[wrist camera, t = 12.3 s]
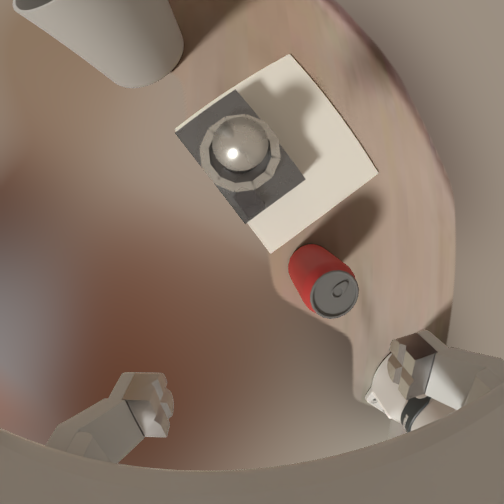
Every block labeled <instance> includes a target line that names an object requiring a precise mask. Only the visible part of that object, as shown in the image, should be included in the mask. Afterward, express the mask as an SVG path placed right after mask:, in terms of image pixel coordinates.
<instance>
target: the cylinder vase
mask: <svg viewBox="0 0 504 504" xmlns="http://www.w3.org/2000/svg"><path fill="white" fill-rule="evenodd" d="M13 8H14V10H15V11H16V12H17V13H19V14H21V15H22V16H23V17H25V18H26V19H28V20H29V21H31V22H32V23H34V24H35V25H37V26H38V27H40V28H41V29H43V30H44V31H46V32H47V33H48V34H50V35H51V36H53V37H54V38H55V39H57V40H58V41H60V42H61V43H63V44H64V45H65V46H67V47H68V48H69V49H71V50H72V51H74V52H75V53H76V54H78V55H79V56H80V57H82V58H83V59H84V60H86V61H87V62H89V63H90V64H91V65H92V66H94V67H95V68H96V69H98V70H99V71H101V72H102V73H103V74H104V75H106V76H107V77H108V78H110V79H111V80H112V81H113V82H115V83H116V84H118V85H120V86H123V87H127V88H138V87H144V86H148V85H151V84H153V83H155V82H157V81H159V80H160V79H162V78H163V77H165V76H166V75H167V74H169V73H170V72H171V71H172V70H173V68H174V67H175V66H176V65H177V63H178V62H179V60H180V58H181V55H182V52H183V48H184V41H183V37H182V34H181V32H180V29H179V27H178V24H177V22H176V19H175V16H174V14H173V11H172V9H171V6H170V4H169V1H168V0H13Z"/></svg>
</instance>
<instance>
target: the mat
mask: <svg viewBox="0 0 504 504" xmlns="http://www.w3.org/2000/svg"><path fill="white" fill-rule="evenodd" d="M235 89H236V90H237V92H238V93H239V94H240V95H241V96H242V97H243V99H244V100H245V101H246V102H247V103H248V105H249V106H250V107H251V108H252V109H253V111H254V112H255V113H256V114H257V116H258V117H259V118H260V119H261V120H262V121H265V122H264V123H267V124H268V126H269V127H270V128H271V129H272V131H273V132H274V133H275V134H276V136H277V137H278V138H277V139H278V140H279V144H280V145H281V146H282V147H283V149H284V150H285V151H286V153H287V154H288V155H289V157H290V158H291V160H292V161H293V162H294V164H295V165H296V166H297V168H298V169H299V170H300V172H301V173H302V175H303V176H304V177H305V179H306V180H305V181H303V182H302V183H300V184H299V185H298V186H296V187H295V188H293V189H292V190H291V191H289V192H288V193H287V194H285V195H284V196H282V197H281V198H280V199H278V200H277V201H276V202H274V203H273V204H272V205H270V206H269V207H268V208H266V209H265V210H263V211H262V212H261V213H259V214H258V215H257V216H255V217H254V218H253V219H251V220H250V221H249V222H247V223H248V224H249V226H250V227H251V228H252V230H253V231H254V232H255V234H256V235H257V236H258V238H259V239H260V240H261V241H262V243H263V244H264V246H265V247H266V248H267V250H268V251H269V252H270V254H271V253H272V252H274V251H275V250H276V249H278V248H279V247H281V246H282V245H283V244H285V243H286V242H287V241H289V240H290V239H291V238H293V237H294V236H295V235H297V234H298V233H299V232H301V231H302V230H304V229H305V228H306V227H308V226H309V225H310V224H312V223H313V222H314V221H316V220H317V219H318V218H320V217H321V216H322V215H324V214H325V213H326V212H328V211H329V210H330V209H332V208H333V207H334V206H336V205H337V204H338V203H340V202H341V201H342V200H344V199H345V198H346V197H348V196H349V195H350V194H352V193H353V192H354V191H356V190H357V189H358V188H360V187H361V186H362V185H364V184H365V183H366V182H368V181H369V180H370V179H372V178H373V177H374V176H376V175H377V174H378V172H377V170H376V168H375V167H374V165H373V164H372V162H371V160H370V159H369V157H368V156H367V154H366V153H365V151H364V149H363V148H362V146H361V145H360V143H359V142H358V140H357V139H356V137H355V136H354V134H353V133H352V132H351V130H350V129H349V127H348V126H347V124H346V123H345V122H344V120H343V119H342V117H341V116H340V115H339V113H338V112H337V111H336V109H335V108H334V107H333V105H332V104H331V103H330V101H329V100H328V99H327V98H326V96H325V95H324V94H323V92H322V91H321V90H320V89H319V88H318V86H317V85H316V84H315V83H314V81H313V80H312V79H311V78H310V77H309V75H308V74H307V73H306V72H305V71H304V70H303V68H302V67H301V66H300V65H299V64H298V63H297V62H296V61H295V59H294V58H293V57H292V56H291V55H290V54H289V55H287V56H285V57H283V58H281V59H279V60H277V61H276V62H274V63H272V64H270V65H269V66H267V67H265V68H263V69H262V70H260V71H258V72H257V73H255V74H253V75H252V76H250V77H248V78H247V79H245V80H244V81H242V82H240V83H239V84H237V85H236V86H234V87H233V88H231V89H230V90H228V91H226V92H225V93H223V94H222V95H221V96H219V97H218V98H216V99H215V100H213V101H212V102H210V103H209V104H208V105H206V106H205V107H203V108H202V109H201V110H199V111H198V112H196V113H195V114H194V115H192V116H191V117H190V118H188V119H187V120H186V121H184V122H183V123H182V124H181V125H179V126H178V127H177V128H176V129H175V130H176V131H178V130H179V129H180V128H182V127H183V126H184V125H186V124H187V123H188V122H190V121H191V120H192V119H194V118H195V117H196V116H198V115H199V114H200V113H202V112H203V111H204V110H206V109H207V108H209V107H210V106H211V105H213V104H214V103H216V102H217V101H219V100H220V99H222V98H223V97H224V96H226V95H227V94H229V93H230V92H232V91H234V90H235Z"/></svg>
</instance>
